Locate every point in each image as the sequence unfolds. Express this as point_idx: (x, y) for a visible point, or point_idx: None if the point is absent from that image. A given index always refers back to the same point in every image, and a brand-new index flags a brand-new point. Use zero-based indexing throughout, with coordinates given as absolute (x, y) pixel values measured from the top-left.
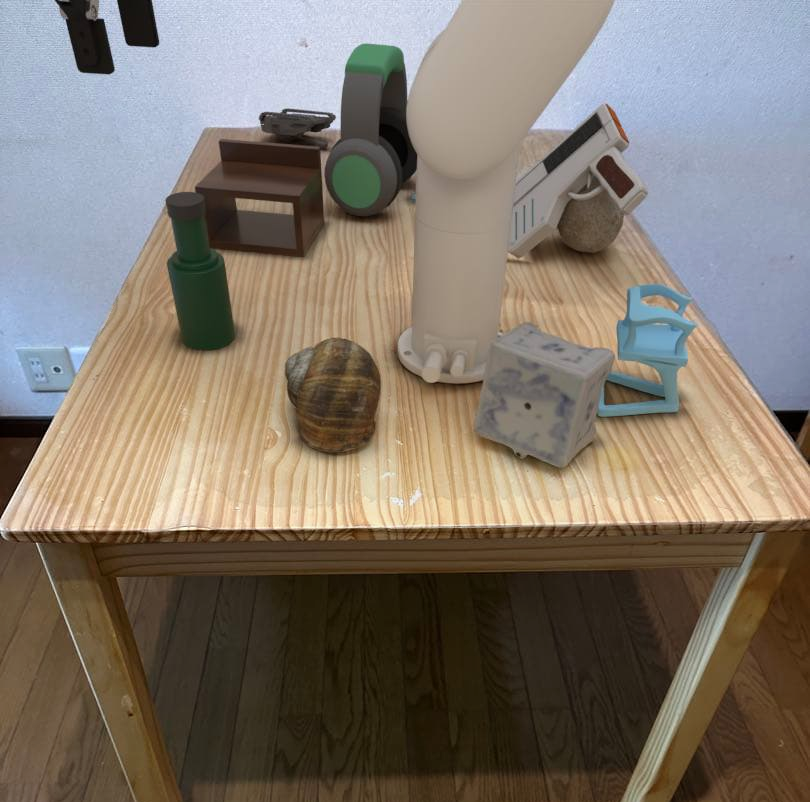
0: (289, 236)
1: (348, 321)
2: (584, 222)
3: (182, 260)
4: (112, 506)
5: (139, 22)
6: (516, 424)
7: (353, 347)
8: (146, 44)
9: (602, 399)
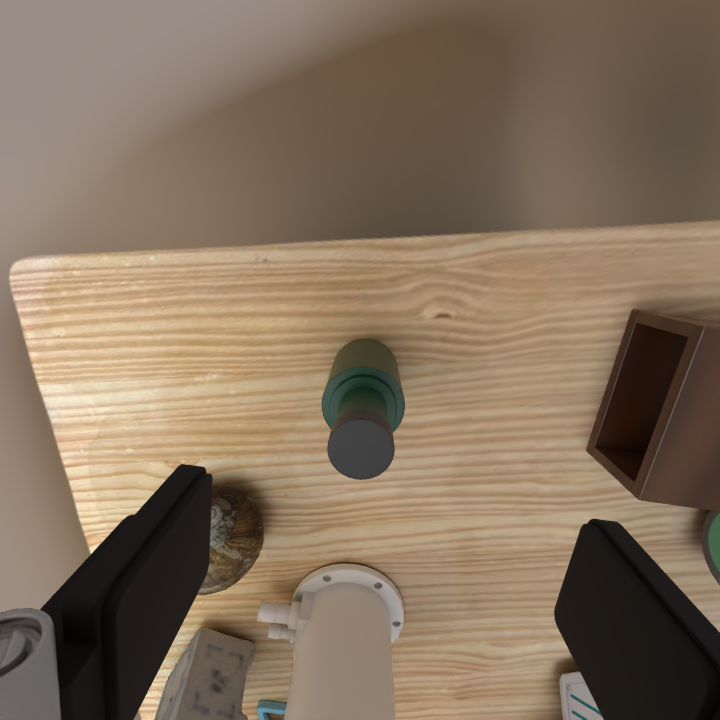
0: (639, 432)
1: (410, 513)
2: None
3: (342, 397)
4: (55, 346)
5: (608, 651)
6: (179, 673)
7: (201, 589)
8: (565, 591)
9: (271, 712)
